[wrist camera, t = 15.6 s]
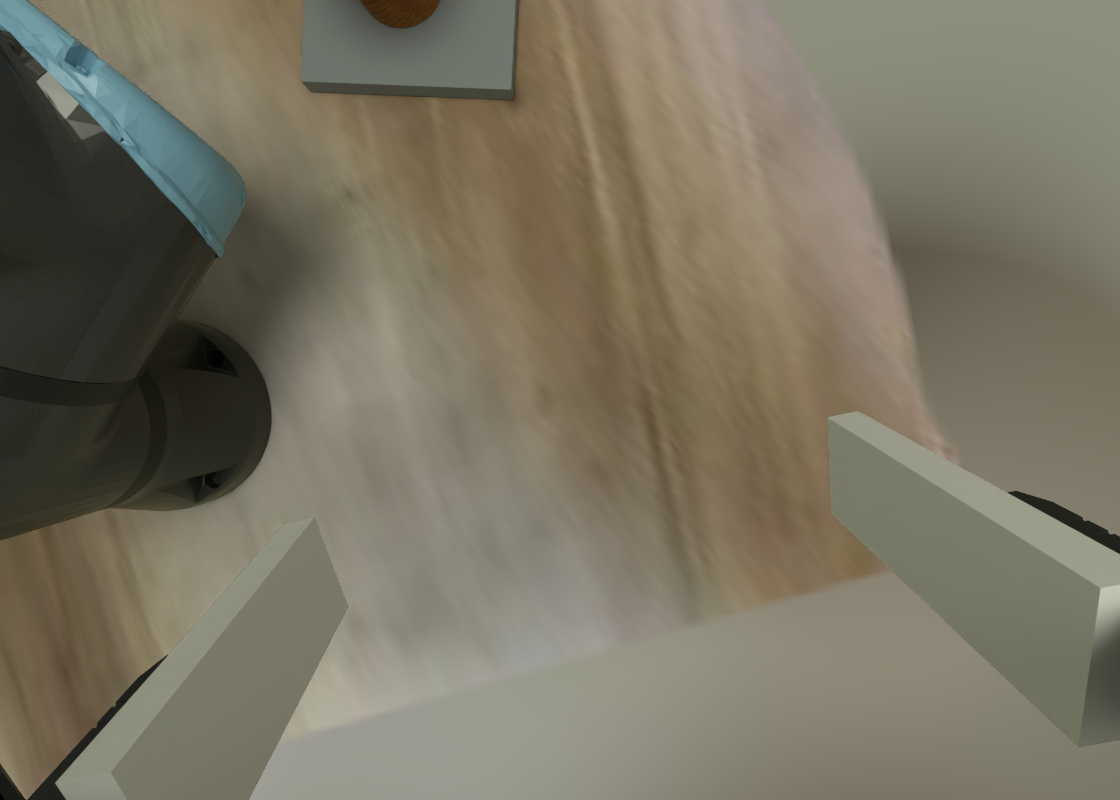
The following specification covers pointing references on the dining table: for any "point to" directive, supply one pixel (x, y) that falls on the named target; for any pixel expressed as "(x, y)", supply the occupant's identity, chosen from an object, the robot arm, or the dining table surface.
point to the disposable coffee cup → (400, 11)
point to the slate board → (411, 50)
